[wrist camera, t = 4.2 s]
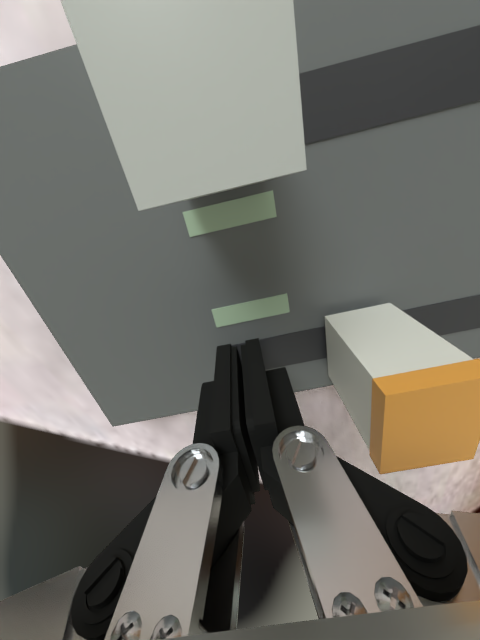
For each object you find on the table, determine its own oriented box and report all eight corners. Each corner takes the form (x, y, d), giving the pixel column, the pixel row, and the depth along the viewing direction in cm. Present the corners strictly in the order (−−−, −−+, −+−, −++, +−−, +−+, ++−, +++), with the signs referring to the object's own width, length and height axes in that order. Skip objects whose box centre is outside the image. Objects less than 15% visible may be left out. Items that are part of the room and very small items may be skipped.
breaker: (246, 41, 6) (275, -221, 2) (267, 182, 7) (306, 169, 4) (146, 70, 6) (12, -128, 2) (184, 202, 8) (138, 210, 4)
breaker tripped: (391, 301, 9) (502, 374, 6) (386, 365, 11) (473, 459, 7) (323, 315, 10) (385, 395, 6) (327, 376, 11) (380, 474, 7)
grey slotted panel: (788, -125, 6) (940, -211, 5) (582, 314, 12) (628, 330, 11) (-47, 113, 8) (-105, 96, 7) (124, 404, 14) (112, 427, 12)
